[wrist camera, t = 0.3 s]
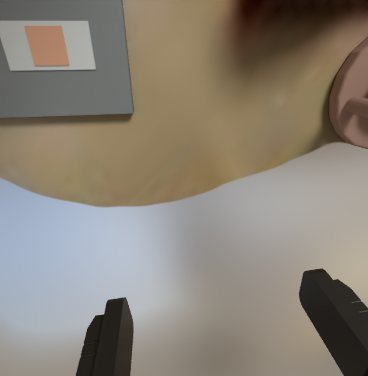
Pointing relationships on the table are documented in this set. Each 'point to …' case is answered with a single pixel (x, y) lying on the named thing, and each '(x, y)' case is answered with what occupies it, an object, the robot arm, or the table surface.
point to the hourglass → (351, 98)
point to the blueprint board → (63, 58)
